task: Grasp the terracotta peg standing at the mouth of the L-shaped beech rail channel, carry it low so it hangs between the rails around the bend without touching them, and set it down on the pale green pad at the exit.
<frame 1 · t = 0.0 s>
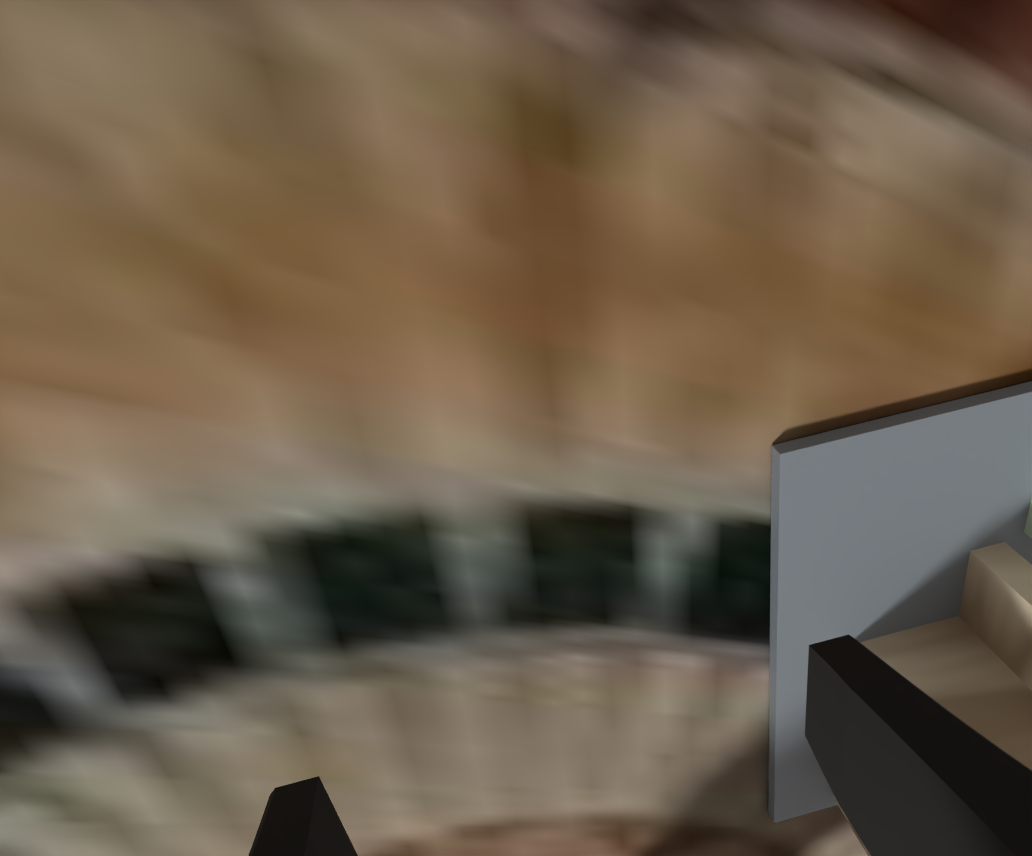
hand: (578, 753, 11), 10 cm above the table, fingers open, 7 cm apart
board: (982, 603, 27), on the table
rails: (992, 613, 26), resting on board
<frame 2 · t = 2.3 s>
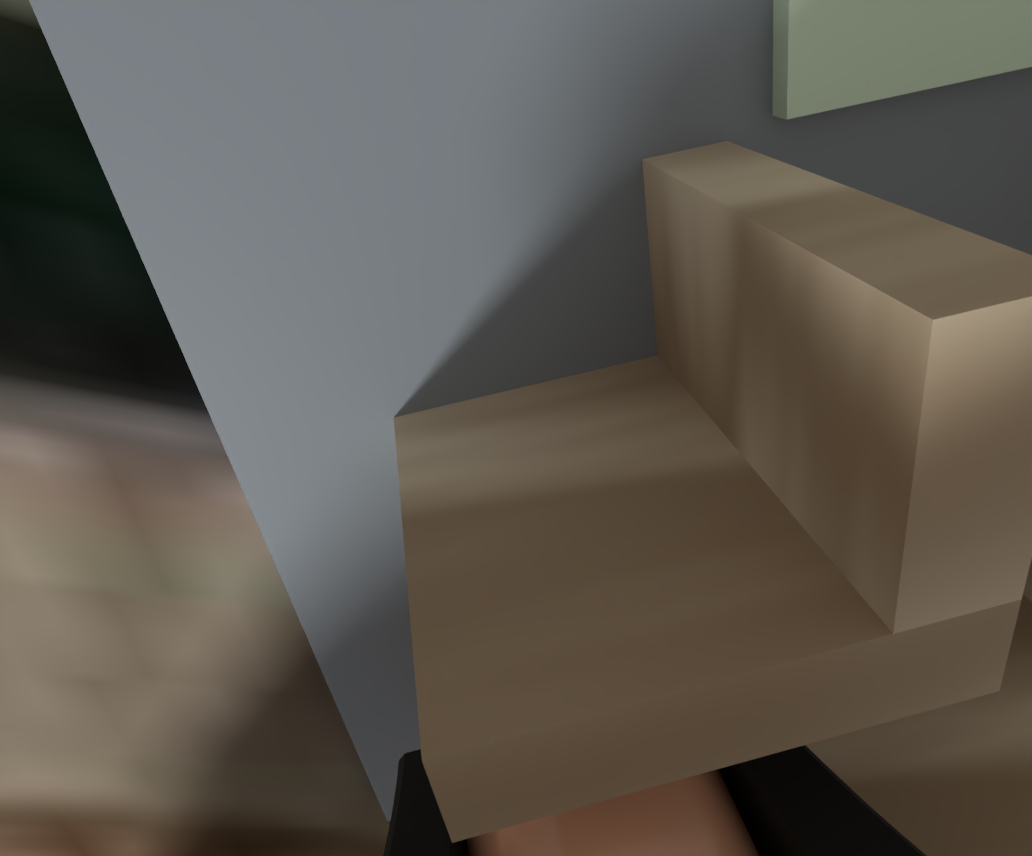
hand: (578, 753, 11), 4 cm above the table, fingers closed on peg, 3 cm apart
board: (727, 343, 12), on the table
rails: (740, 355, 12), resting on board
peg: (534, 602, 14), point 1 cm above the table, touching board, gripper
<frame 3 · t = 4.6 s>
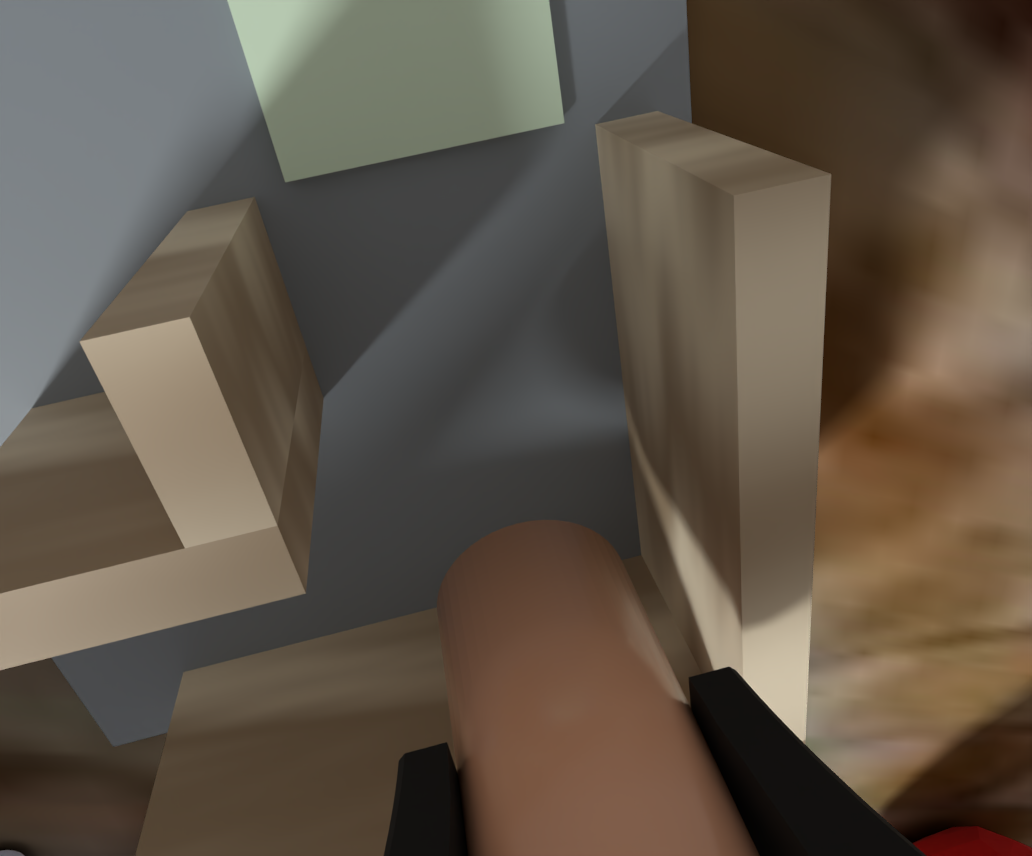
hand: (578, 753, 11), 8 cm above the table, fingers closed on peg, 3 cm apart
board: (319, 350, 16), on the table
tomato: (908, 855, 31), on the table
rails: (318, 359, 15), resting on board
peg: (533, 598, 14), point 5 cm above the table, touching gripper
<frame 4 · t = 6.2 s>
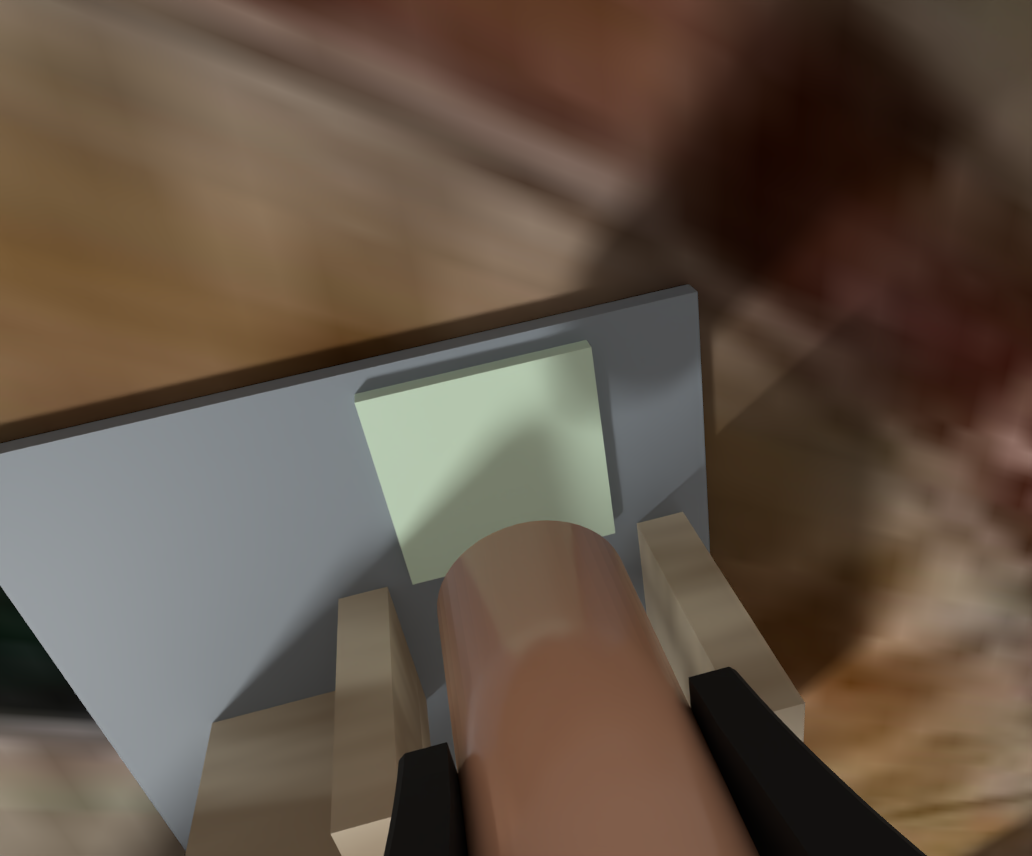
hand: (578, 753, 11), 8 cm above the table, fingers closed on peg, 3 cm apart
pad: (493, 464, 17), resting on board
board: (423, 663, 20), on the table
rails: (424, 677, 20), resting on board
peg: (533, 598, 14), point 5 cm above the table, touching gripper
when the fingers open (5 cm above the table, at t = 7.3 s): peg stays where it is, resting on pad.
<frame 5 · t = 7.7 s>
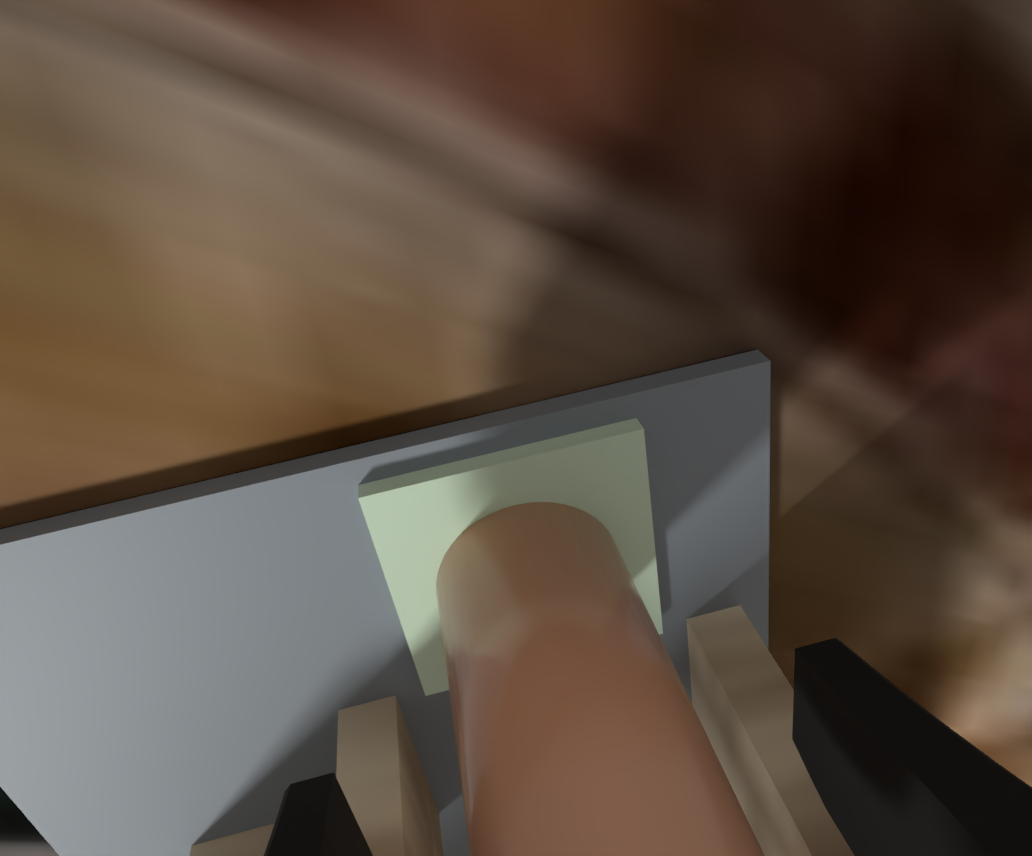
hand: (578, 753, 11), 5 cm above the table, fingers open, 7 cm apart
pad: (522, 559, 14), resting on board
board: (435, 770, 18), on the table
rails: (437, 789, 17), resting on board
peg: (529, 579, 14), point 1 cm above the table, touching pad
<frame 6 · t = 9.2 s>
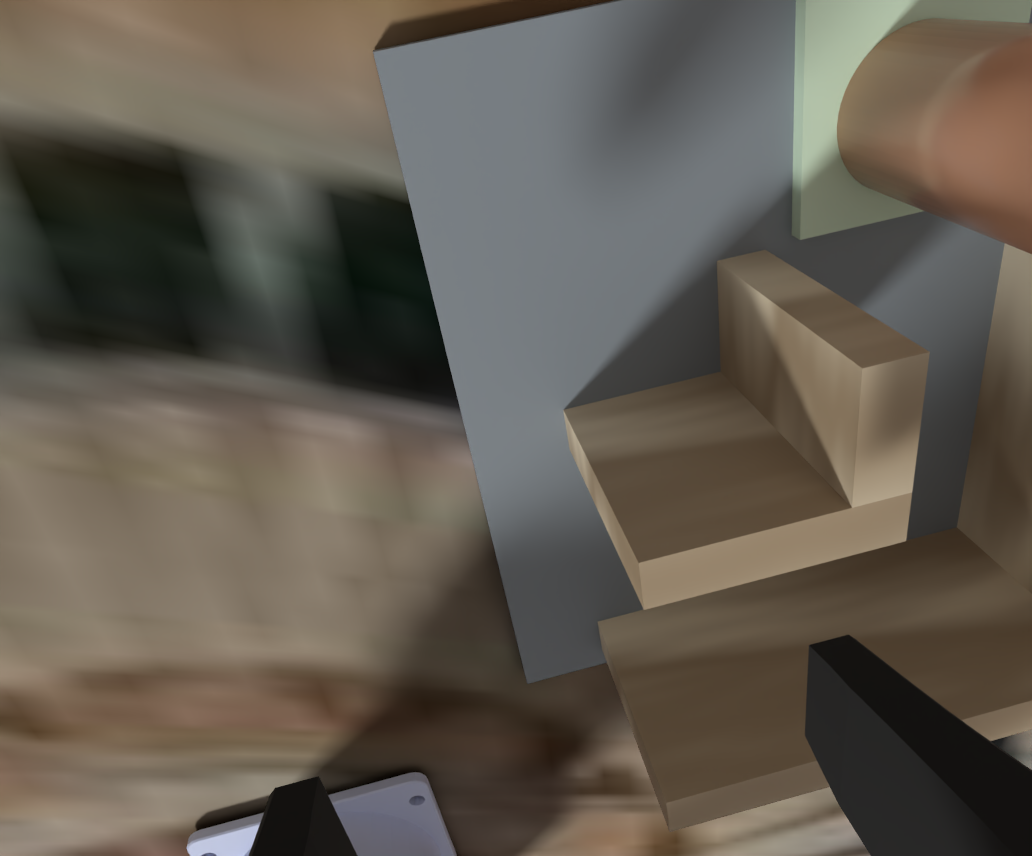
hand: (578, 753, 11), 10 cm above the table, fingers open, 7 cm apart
pad: (901, 99, 17), resting on board
board: (762, 363, 20), on the table
rails: (770, 371, 19), resting on board
peg: (913, 110, 16), point 1 cm above the table, touching pad
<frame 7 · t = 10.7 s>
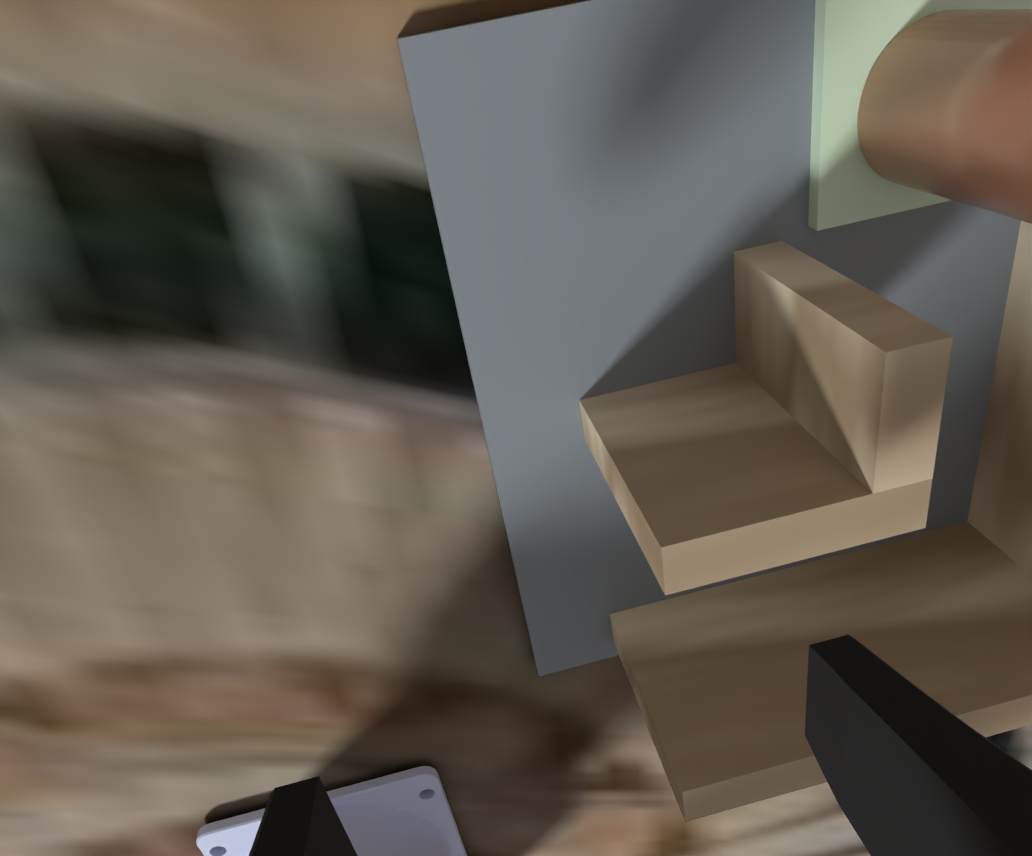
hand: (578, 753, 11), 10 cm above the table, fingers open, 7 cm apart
pad: (918, 91, 17), resting on board
board: (776, 355, 20), on the table
rails: (785, 363, 20), resting on board
peg: (931, 101, 16), point 1 cm above the table, touching pad
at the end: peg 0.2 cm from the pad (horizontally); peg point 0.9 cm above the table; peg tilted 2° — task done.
